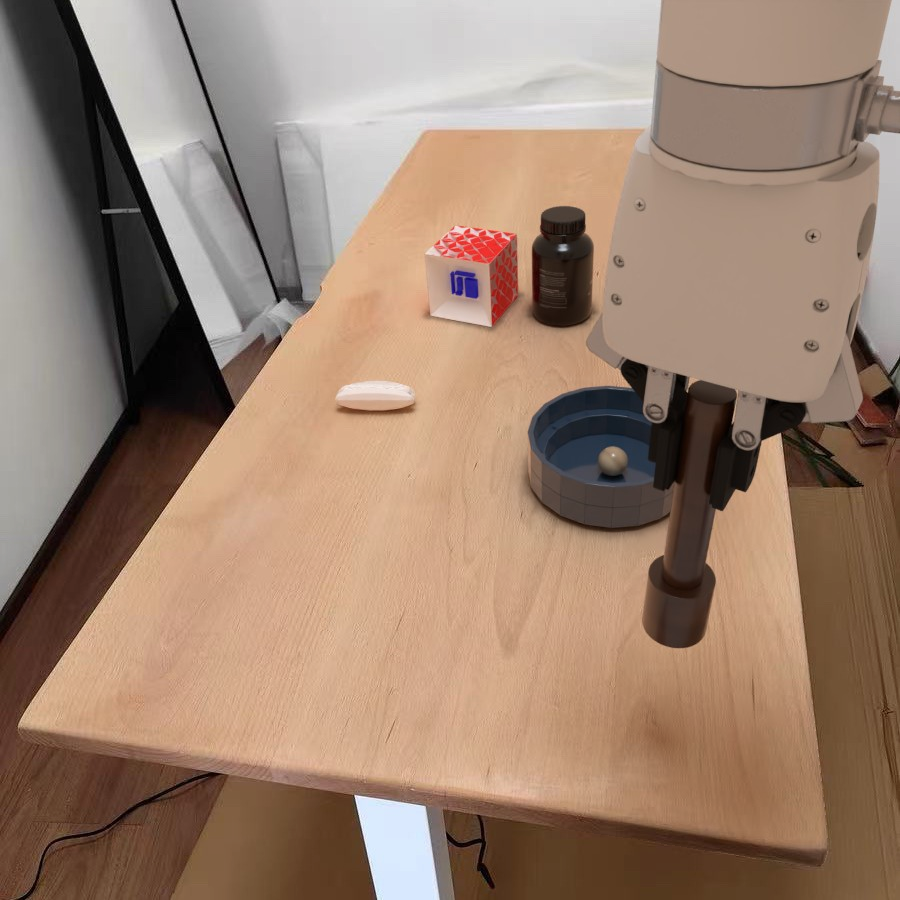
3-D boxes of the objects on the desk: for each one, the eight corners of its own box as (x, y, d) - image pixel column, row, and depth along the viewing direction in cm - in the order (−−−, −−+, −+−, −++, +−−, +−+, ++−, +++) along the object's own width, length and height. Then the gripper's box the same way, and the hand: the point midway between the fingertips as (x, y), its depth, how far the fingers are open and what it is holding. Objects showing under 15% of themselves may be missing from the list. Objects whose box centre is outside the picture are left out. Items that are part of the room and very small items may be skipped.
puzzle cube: (518, 295, 104) (517, 233, 99) (492, 327, 98) (489, 263, 93) (458, 285, 107) (454, 225, 102) (429, 315, 101) (423, 253, 96)
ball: (619, 443, 74) (594, 459, 74) (635, 468, 74) (609, 484, 75) (615, 438, 77) (590, 454, 77) (630, 463, 77) (605, 478, 77)
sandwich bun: (414, 415, 86) (411, 392, 84) (335, 415, 87) (331, 392, 85) (418, 397, 88) (415, 374, 87) (341, 397, 89) (337, 374, 88)
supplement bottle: (603, 315, 99) (608, 216, 91) (555, 334, 96) (556, 233, 89) (567, 292, 103) (569, 196, 96) (520, 310, 101) (518, 212, 93)
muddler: (716, 617, 50) (764, 384, 40) (690, 659, 48) (735, 422, 38) (658, 592, 52) (691, 363, 42) (631, 631, 49) (659, 397, 40)
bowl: (712, 456, 78) (719, 412, 75) (650, 553, 69) (655, 507, 66) (572, 413, 84) (573, 371, 81) (500, 497, 76) (498, 453, 72)
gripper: (1013, 105, 31) (883, 491, 42) (601, 63, 38) (586, 402, 50) (980, 179, 26) (844, 592, 38) (517, 114, 33) (522, 476, 45)
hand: (698, 481), depth 43 cm, fingers closed on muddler, 2 cm apart
